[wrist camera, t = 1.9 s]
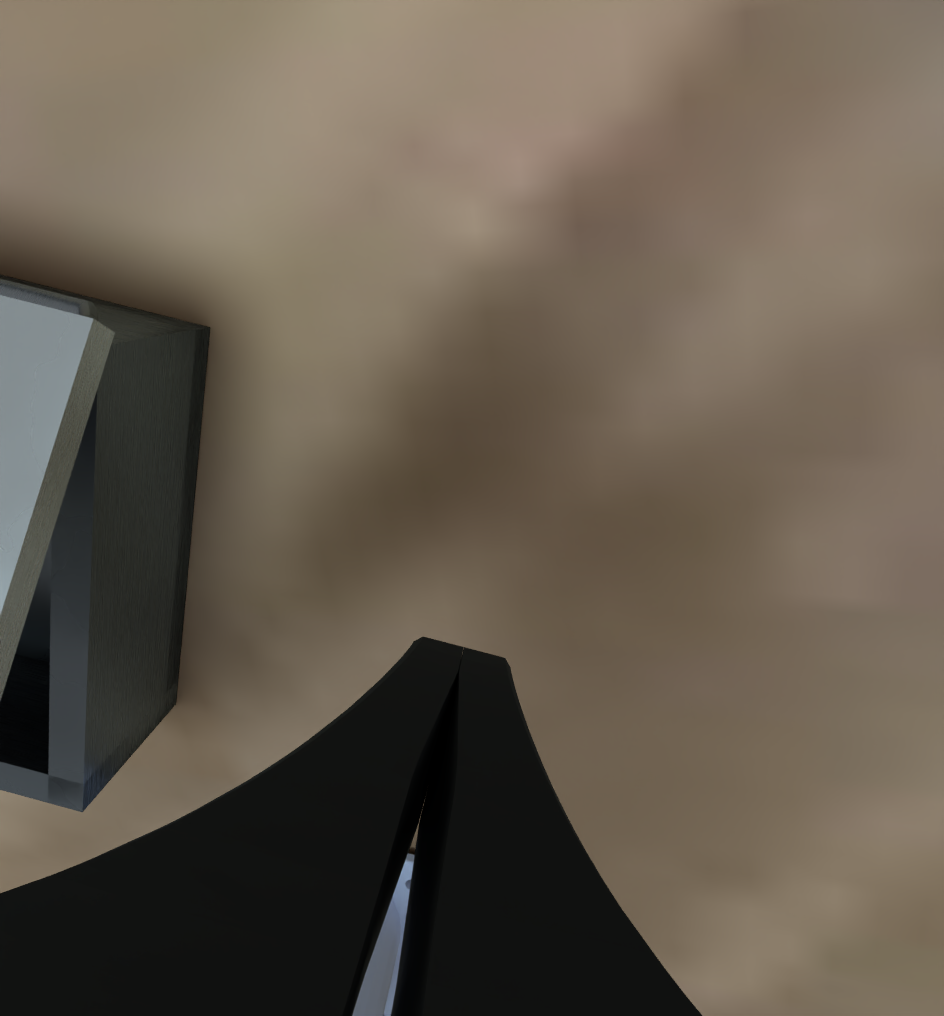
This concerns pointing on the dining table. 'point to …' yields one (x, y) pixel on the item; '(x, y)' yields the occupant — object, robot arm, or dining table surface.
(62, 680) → the grey square box
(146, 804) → the dining table surface
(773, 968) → the dining table surface
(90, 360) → the steel lid
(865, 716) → the dining table surface
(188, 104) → the dining table surface
